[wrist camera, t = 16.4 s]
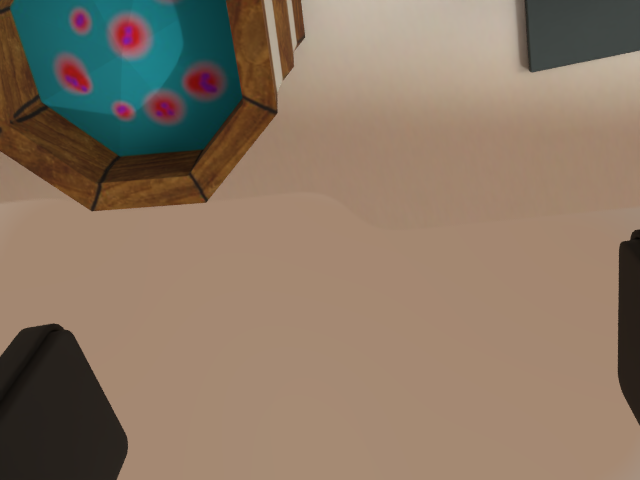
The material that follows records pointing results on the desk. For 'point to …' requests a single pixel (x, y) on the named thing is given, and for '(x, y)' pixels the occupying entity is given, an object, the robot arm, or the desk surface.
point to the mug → (140, 92)
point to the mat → (580, 30)
